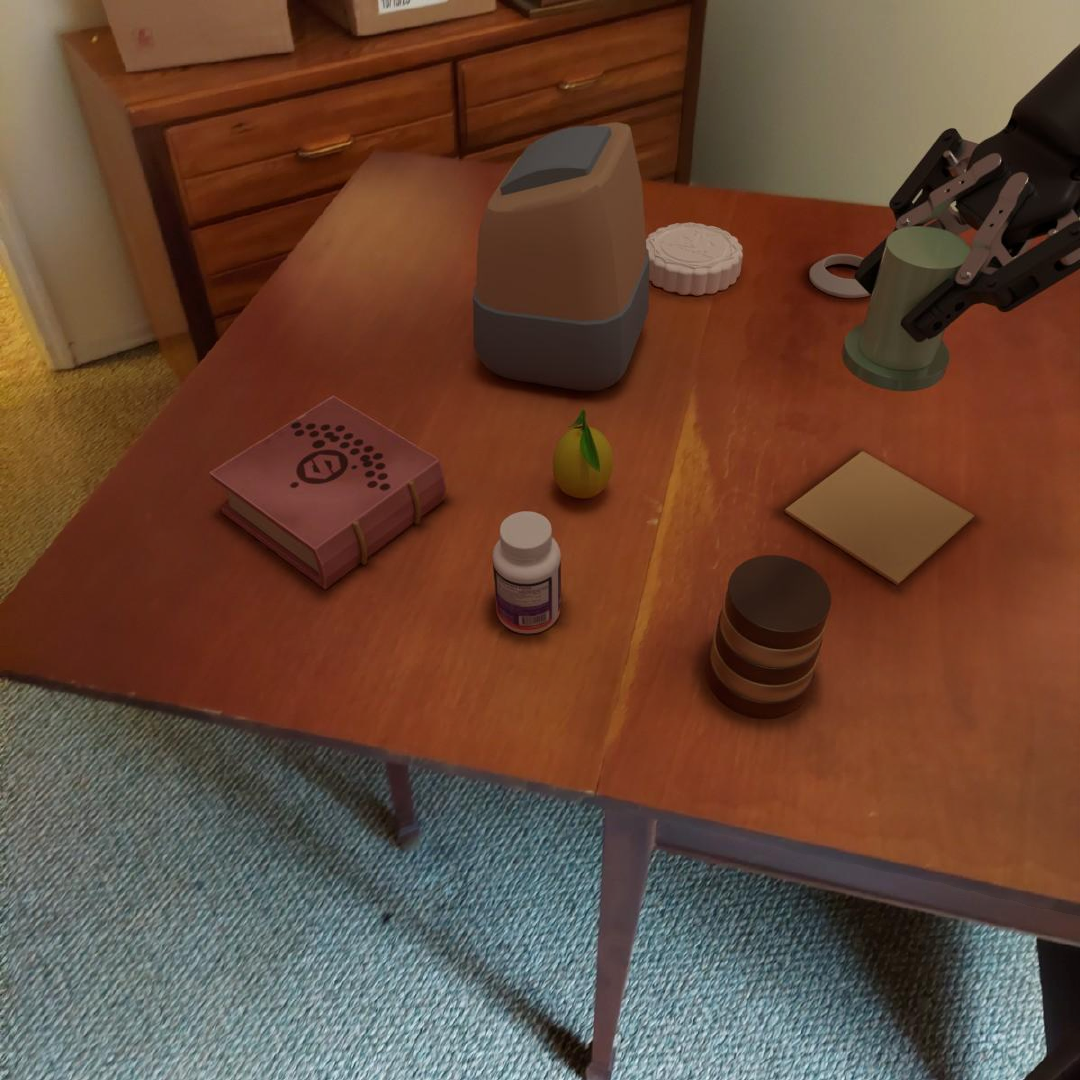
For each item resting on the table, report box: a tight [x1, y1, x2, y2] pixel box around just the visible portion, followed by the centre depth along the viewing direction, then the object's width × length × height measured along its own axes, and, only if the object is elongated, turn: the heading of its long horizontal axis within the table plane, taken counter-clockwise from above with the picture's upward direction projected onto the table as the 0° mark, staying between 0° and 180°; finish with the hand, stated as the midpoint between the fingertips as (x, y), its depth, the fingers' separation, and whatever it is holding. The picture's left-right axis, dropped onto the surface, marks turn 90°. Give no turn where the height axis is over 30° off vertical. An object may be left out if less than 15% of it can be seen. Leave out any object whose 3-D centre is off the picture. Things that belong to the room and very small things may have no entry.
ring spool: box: [841, 225, 972, 392], centre depth 61 cm, size 7×7×8 cm
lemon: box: [552, 408, 614, 499], centre depth 85 cm, size 7×6×10 cm
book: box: [208, 395, 447, 590], centre depth 86 cm, size 14×15×5 cm
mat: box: [784, 450, 975, 586], centre depth 87 cm, size 12×12×1 cm
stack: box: [705, 554, 832, 719], centre depth 71 cm, size 8×8×10 cm
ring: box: [808, 253, 871, 299], centre depth 114 cm, size 8×8×2 cm
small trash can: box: [472, 121, 650, 392], centre depth 96 cm, size 17×17×23 cm
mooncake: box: [646, 221, 744, 297], centre depth 115 cm, size 12×12×4 cm
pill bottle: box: [492, 510, 562, 635], centre depth 76 cm, size 5×5×10 cm
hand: (886, 308), depth 61 cm, fingers closed on ring spool, 5 cm apart
